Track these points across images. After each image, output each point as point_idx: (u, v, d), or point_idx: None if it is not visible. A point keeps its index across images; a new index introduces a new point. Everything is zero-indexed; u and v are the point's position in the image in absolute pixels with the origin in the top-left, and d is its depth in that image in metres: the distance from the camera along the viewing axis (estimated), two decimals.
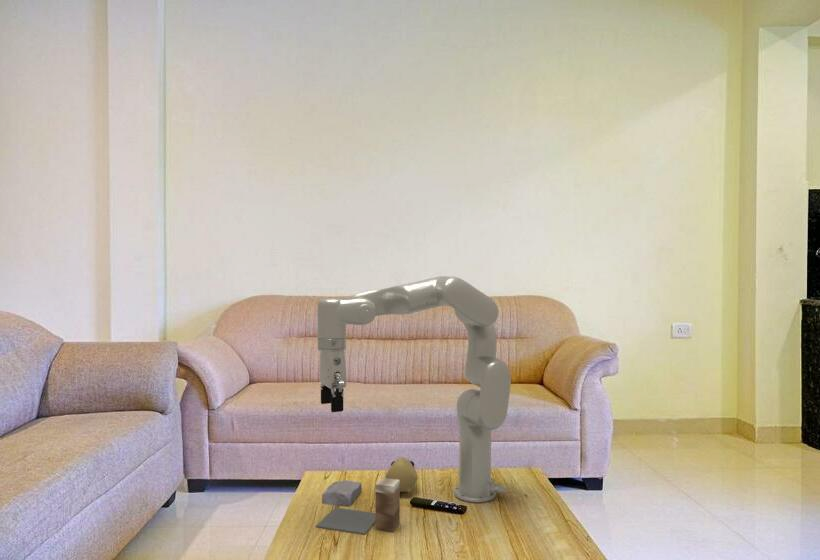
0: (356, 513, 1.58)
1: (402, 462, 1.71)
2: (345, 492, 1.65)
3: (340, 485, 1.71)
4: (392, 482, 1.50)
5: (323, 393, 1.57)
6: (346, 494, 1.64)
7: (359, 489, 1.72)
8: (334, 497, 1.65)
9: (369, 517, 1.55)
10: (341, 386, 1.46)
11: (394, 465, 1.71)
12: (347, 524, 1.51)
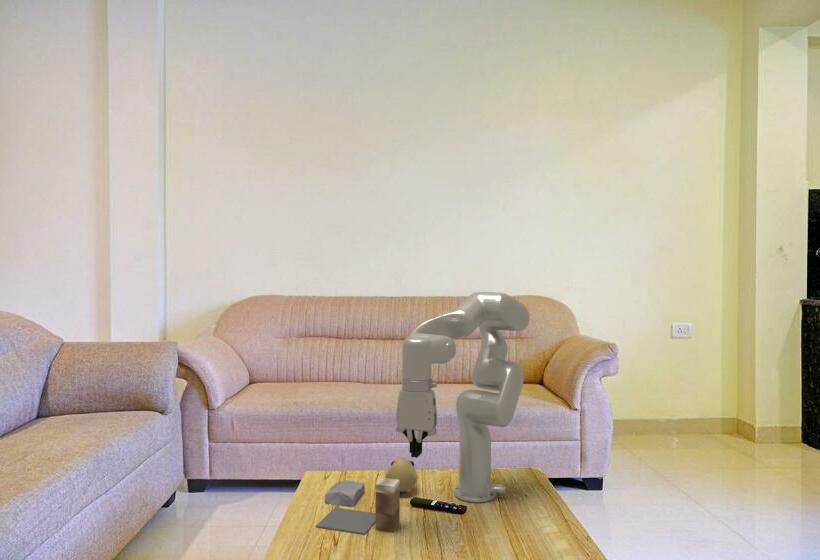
0: (356, 513, 1.58)
1: (402, 462, 1.71)
2: (349, 492, 1.65)
3: (343, 485, 1.71)
4: (392, 482, 1.50)
5: (414, 445, 1.47)
6: (349, 494, 1.64)
7: (362, 489, 1.72)
8: (337, 497, 1.65)
9: (369, 517, 1.55)
10: None
11: (394, 465, 1.71)
12: (347, 524, 1.51)
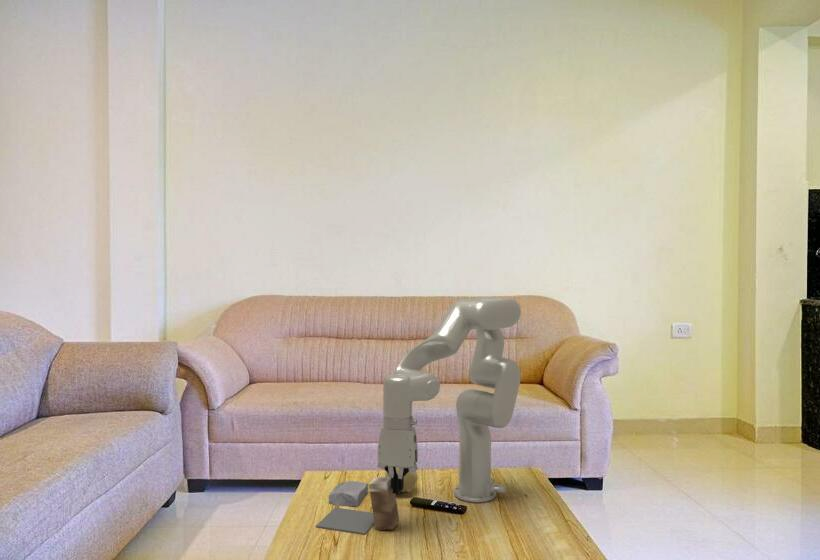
0: (356, 513, 1.58)
1: None
2: (352, 492, 1.64)
3: (347, 486, 1.71)
4: (385, 479, 1.51)
5: (395, 482, 1.49)
6: (353, 495, 1.64)
7: (366, 489, 1.72)
8: (341, 498, 1.65)
9: (369, 517, 1.55)
10: None
11: None
12: (347, 524, 1.51)
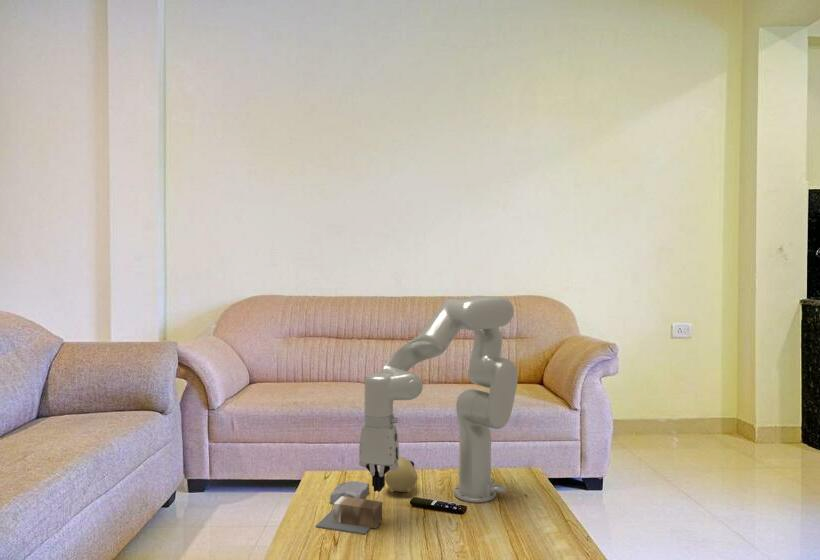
0: None
1: (402, 462, 1.71)
2: (354, 492, 1.64)
3: (348, 486, 1.71)
4: None
5: None
6: (355, 495, 1.64)
7: (367, 490, 1.72)
8: None
9: None
10: None
11: None
12: (347, 524, 1.51)
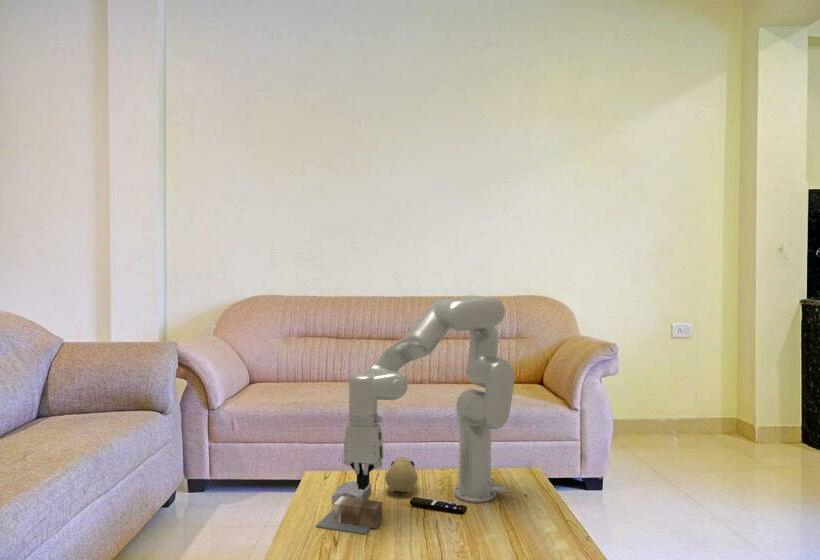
0: None
1: (402, 462, 1.71)
2: (356, 493, 1.64)
3: (350, 486, 1.71)
4: None
5: None
6: (357, 495, 1.64)
7: (369, 490, 1.71)
8: None
9: None
10: None
11: (394, 465, 1.71)
12: (347, 524, 1.51)
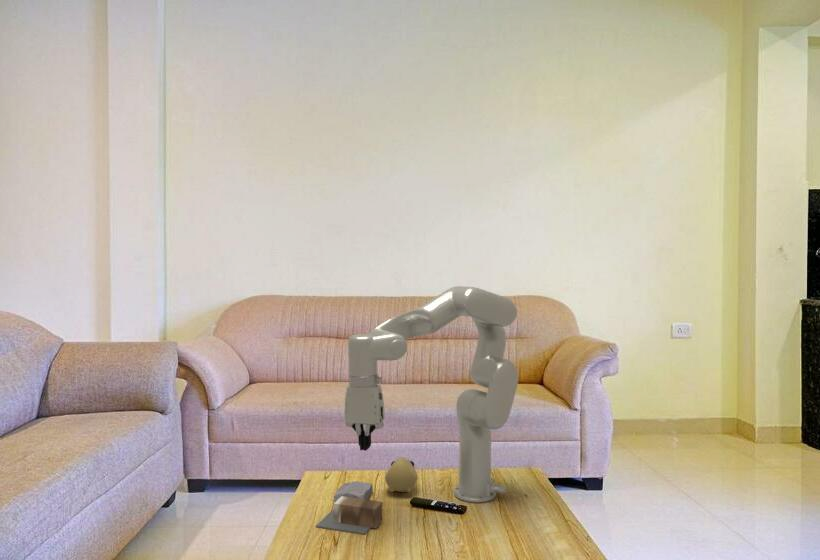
0: None
1: (402, 462, 1.71)
2: (358, 493, 1.64)
3: (351, 486, 1.71)
4: None
5: None
6: (358, 495, 1.63)
7: (370, 490, 1.71)
8: None
9: None
10: None
11: (394, 465, 1.71)
12: (347, 524, 1.51)
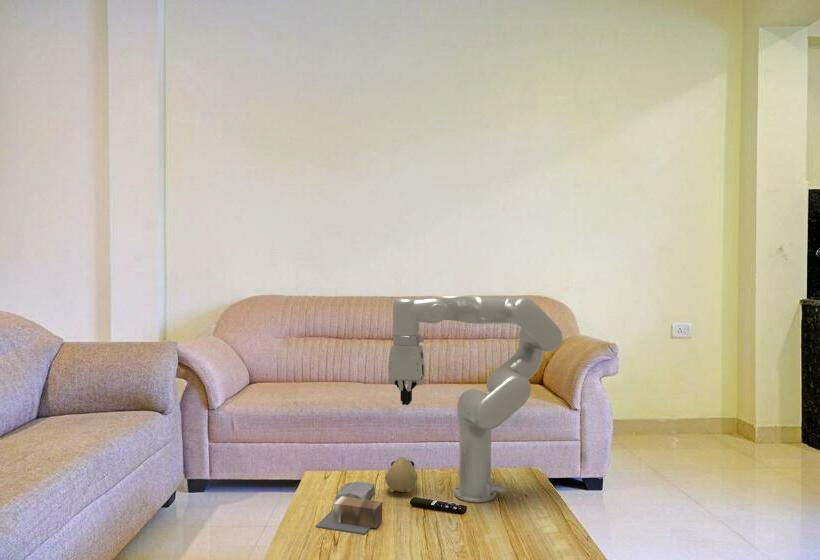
0: None
1: (402, 462, 1.71)
2: (360, 493, 1.64)
3: (353, 486, 1.70)
4: None
5: None
6: (360, 495, 1.63)
7: (372, 490, 1.71)
8: None
9: None
10: (420, 384, 1.64)
11: (394, 465, 1.71)
12: (347, 524, 1.51)
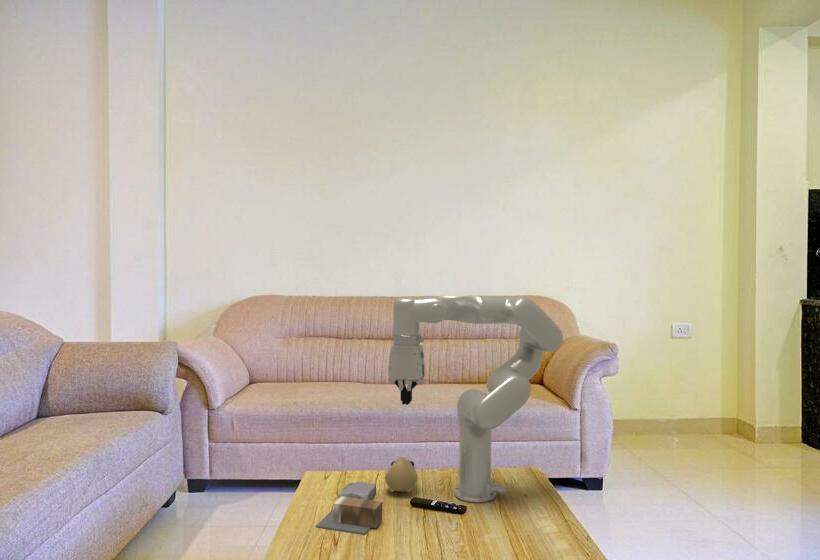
0: None
1: (402, 462, 1.71)
2: (362, 493, 1.64)
3: (355, 486, 1.70)
4: None
5: None
6: (362, 495, 1.63)
7: (374, 490, 1.71)
8: None
9: None
10: None
11: (394, 465, 1.71)
12: (347, 524, 1.51)
